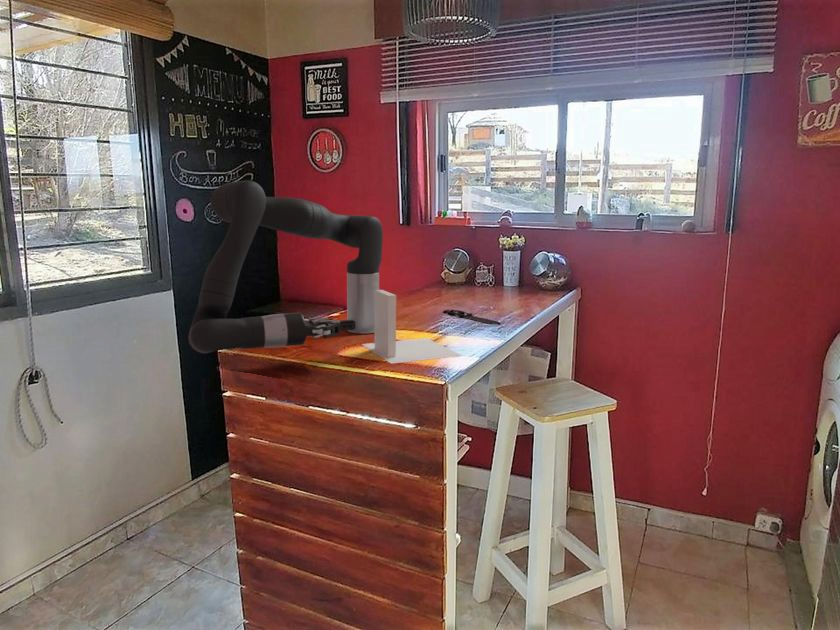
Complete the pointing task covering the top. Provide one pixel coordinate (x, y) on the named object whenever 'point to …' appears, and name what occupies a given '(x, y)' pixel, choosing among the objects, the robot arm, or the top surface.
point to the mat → (415, 351)
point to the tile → (385, 323)
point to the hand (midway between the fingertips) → (354, 324)
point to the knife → (468, 316)
